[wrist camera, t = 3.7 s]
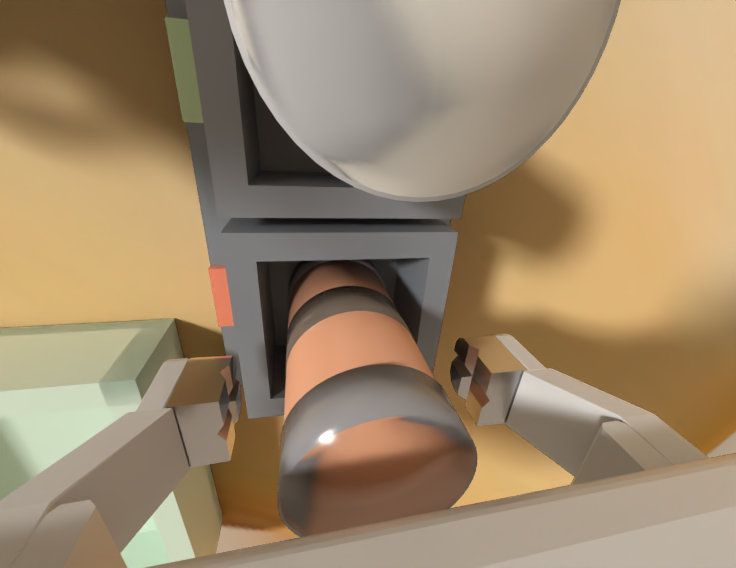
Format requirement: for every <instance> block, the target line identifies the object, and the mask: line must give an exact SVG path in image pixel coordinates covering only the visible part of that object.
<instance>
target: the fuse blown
mask: <svg viewBox="0 0 736 568" xmlns="http://www.w3.org/2000/svg"><path fill="white" fill-rule="evenodd" d="M288 314H289V316H288V333H287V346H286V367H285V375H286V385H285V408H284V425H283V427H282V432H281V440H280V460H279V479H278V510H279V515H280V517H281V519H282V521H283V522H284V524H285V525H286V526H287V527H288V528H289V529H290V530H291V531H292V532H293V533H294V534H296V535H298V536H299V537H305V536H310V535H315V534H320V533H325V532H331V531H336V530H341V529H346V528H351V527H356V526H362V525H367V524H372V523H377V522H382V521H387V520H393V519H398V518H403V517H408V516H413V515H418V514H423V513H429V512H434V511H439V510H444V509H449V508H451V507H452V506H453V505H454V504H455V503H456V502H457V501H458V500H459V499H460V497H461V496H462V495H463V494H464V492H465V491H466V490H467V488H468V487H469V485H470V483H471V481H472V479H473V477H474V474H475V471H476V467H477V452H476V447H475V445H474V443H473V440H472V439H471V437H470V435H469V433H468V431H467V430H466V428H465V426H464V424H463V423H462V421H461V419H460V417H459V415H458V414H457V412H456V410H455V408H454V407H453V405H452V403H451V401H450V399H449V398H448V396H447V394H446V392H445V391H444V389H443V388H442V386H441V385H440V384H439V383H438V382H437V381H436V379H435V377H434V375H433V374H432V372H431V370H430V368H429V366H428V365H427V363H426V361H425V359H424V357H423V356H422V354H421V352H420V350H419V348H418V346H417V345H416V343H415V340H414V338H413V336H412V334H411V332H410V331H409V329H408V327H407V325H406V323H405V322H404V320H403V318H402V316H401V314H400V313H399V311H398V309H397V308H396V306H395V305H394V303H393V301H392V299H391V298H390V296H389V294H388V292H387V290H386V287H385V285H384V282H383V280H382V279H381V277H380V275H379V273H378V271H377V270H376V268H375V266H374V265H373V263H372V262H371V261H370V260H369V259H358V260H312V261H301V262H300V263H299V264H298V265H297V266H296V268H295V269H294V271H293V273H292V275H291V278H290V281H289V287H288Z"/></svg>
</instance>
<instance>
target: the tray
mask: <svg viewBox="0 0 736 568" xmlns="http://www.w3.org/2000/svg"><path fill="white" fill-rule="evenodd" d="M182 358H184V356H183V352H182V348H181V344H180V340H179V336H178V332H177V328H176V324H175V320H174V319H157V320H138V321H120V322H101V323H82V324H64V325H45V326H27V327H8V328H0V500H2V499H3V498H5V497H6V496H8V495H9V494H11V493H12V492H13V491H15V490H16V489H18V488H19V487H21V486H22V485H24V484H25V483H26V482H28V481H29V480H31V479H32V478H34V477H35V476H37V475H38V474H39V473H41V472H42V471H44V470H45V469H47V468H48V467H50V466H51V465H52V464H54V463H55V462H57V461H58V460H60V459H61V458H63V457H64V456H65V455H67V454H68V453H70V452H71V451H73V450H74V449H76V448H77V447H78V446H80V445H81V444H83V443H84V442H86V441H87V440H89V439H90V438H91V437H93V436H94V435H96V434H97V433H99V432H100V431H102V430H103V429H104V428H106V427H107V426H109V425H110V424H112V423H113V422H115V421H116V420H117V419H119V418H120V417H122V416H123V415H125V414H126V413H128V412H135V411H136V410H137V408H138V406H139V404H140V403H141V401H142V399H143V397H144V396H145V394H146V392H147V390H148V389H149V387H150V385H151V383H152V382H153V380H154V378H155V376H156V375H157V373H158V371H159V369H160V368H161V366H162V364H163V363H164V362H165V361H167V360H168V359H182ZM222 520H223V516H222V512H221V508H220V504H219V500H218V496H217V492H216V488H215V484H214V479H213V475H212V471H211V467H210V464H209V465H203V466H197V467H191V468H190V471H189V472H188V473H187V474H186V475H185V477H184V478H183V479H182V480H181V481H180V483H179V484H178V485H177V486H176V487H175V489H174V490H173V491H172V492H171V493H170V494H169V496H168V497H167V498H166V499H165V500H164V502H163V503H162V504H161V505H160V506H159V508H158V509H157V510H156V511H155V512H154V514H153V515H152V516H151V517H150V518H149V520H148V521H147V522H146V523H145V524H144V526H143V527H142V528H141V529H140V530H139V532H138V533H137V534H136V535H135V536H134V538H133V539H132V540H131V541H130V542H129V544H128V545H127V546H126V547H125V548H124V550H123V551H122V552H121V553H120V554H121V556H122V558H123V560H124V562H125V564H126V566H127V568H144V567H150V566H155V565H160V564H165V563H170V562H175V561H181V560H186V559H191V558H196V557H201V556H206V555H212V554H216V551H217V545H218V541H219V535H220V530H221V525H222Z"/></svg>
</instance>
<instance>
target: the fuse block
mask: <svg viewBox="0 0 736 568" xmlns="http://www.w3.org/2000/svg"><path fill="white" fill-rule="evenodd" d="M165 3H166V9H167V15H168V17H164V18H165V24H166V30H167V35H168V41H169V47H170V53H171V58H172V64H173V70H174V75H175V81H176V87H177V92H178V98H179V104H180V109H181V115H182V121H183V122H186V126H187V132H188V137H189V143H190V149H191V155H192V161H193V166H194V172H195V178H196V184H197V190H198V196H199V201H200V207H201V213H202V219H203V225H204V230H205V236H206V242H207V248H208V254H209V260H210V265H211V266H210V267H209V275H210V280H211V286H212V292H213V297H214V303H215V309H216V314H217V320H218V326H219V327H221V329H222V335H223V341H224V347H225V353H226V356H231V355H234V357H235V358H236V363H237V373H236V377H235V379H236V380H238V381H239V382H240V386H243V388H244V395H245V401H246V408H247V415H248V419H253V418H262V417H270V416H279V415H284V408H285V385H286V375H285V367H286V346H287V333H288V316H289V314H288V287H289V281H290V278H291V275H292V273H293V271H294V269H295V268H296V266H297V265H298V264H299V263H300V262H301V261H312V260H358V259H369V260H370V261H371V262H372V263H373V265H374V266H375V268H376V270H377V271H378V273H379V275H380V277H381V279H382V280H383V282H384V285H385V287H386V290H387V292H388V294H389V296H390V298H391V299H392V301H393V303H394V305H395V306H396V308H397V309H398V311H399V313H400V314H401V316H402V318H403V320H404V322H405V323H406V325H407V327H408V329H409V331H410V332H411V334H412V336H413V338H414V340H415V343H416V345H417V346H418V348H419V350H420V352H421V354H422V356H423V357H424V359H425V361H426V363H427V365H428V366H429V368H430V370H431V372H432V374H433V370H434V365H435V359H436V354H437V348H438V343H439V337H440V332H441V326H442V321H443V316H444V310H445V305H446V299H447V294H448V288H449V283H450V277H451V272H452V266H453V261H454V255H455V250H456V244H457V239H458V233H459V232H458V231H456V230H455V229H453V228H452V227H450V222H451V219H461V217H462V211H463V206H464V201H465V195H466V194H465V195H462V196H459V197H455V198H450V199H445V200H440V201H428V202H410V201H399V200H393V199H389V198H384V197H380V196H376V195H373V194H371V193H368V192H365V191H363V190H360V189H358V188H355V187H353V186H351V185H350V184H348V183H346V182H344V181H342V180H340V179H339V178H337V177H335V176H334V175H332V174H331V173H330V172H328V171H327V170H325V169H324V168H323V167H321V166H320V165H319V164H317V163H316V162H315V161H314V160H313V159H312V158H310V157H309V156H308V155H307V154H306V153H305V152H304V151H303V150H302V149H301V148H300V147H299V146H298V145H297V144H296V143H295V142H294V141H293V140H292V138H291V137H290V136H289V135H288V134H287V132H286V131H285V130H284V129H283V128H282V126H281V125H280V124H279V123H278V122H277V120H276V119H275V117H274V115H273V114H272V112H271V111H270V109H269V108H268V106H267V105H266V103H265V102H264V100H263V99H262V97H261V96H260V94H259V92H258V90H257V88H256V86H255V84H254V82H253V80H252V78H251V76H250V74H249V72H248V70H247V68H246V66H245V64H244V61H243V59H242V56H241V53H240V51H239V48H238V46H237V43H236V40H235V38H234V35H233V33H232V30H231V26H230V22H229V19H228V15H227V11H226V7H225V4H224V0H165Z"/></svg>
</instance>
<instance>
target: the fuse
mask: <svg viewBox="0 0 736 568" xmlns="http://www.w3.org/2000/svg"><path fill="white" fill-rule="evenodd" d="M620 1H621V0H224V4H225V7H226V11H227V15H228V19H229V22H230V26H231V30H232V33H233V35H234V38H235V40H236V43H237V46H238V48H239V51H240V53H241V56H242V59H243V61H244V64H245V66H246V68H247V70H248V72H249V74H250V76H251V78H252V80H253V82H254V84H255V86H256V88H257V90H258V92H259V94H260V96H261V97H262V99H263V100H264V102H265V103H266V105H267V106H268V108H269V109H270V111H271V112H272V114H273V115H274V117H275V119H276V120H277V122H278V123H279V124H280V125H281V126H282V128H283V129H284V130H285V131H286V132H287V134H288V135H289V136H290V137H291V138H292V140H293V141H294V142H295V143H296V144H297V145H298V146H299V147H300V148H301V149H302V150H303V151H304V152H305V153H306V154H307V155H308V156H309V157H310V158H312V159H313V160H314V161H315V162H316V163H317V164H319V165H320V166H321V167H323V168H324V169H325V170H327V171H328V172H330V173H331V174H332V175H334V176H335V177H337V178H339V179H340V180H342V181H344V182H346V183H348V184H350V185H351V186H353V187H355V188H358V189H360V190H363V191H365V192H368V193H371V194H373V195H376V196H380V197H384V198H389V199H393V200H399V201H410V202H428V201H440V200H445V199H450V198H455V197H459V196H462V195H465V194H468V193H471V192H474V191H477V190H479V189H481V188H483V187H485V186H487V185H490V184H492V183H494V182H496V181H497V180H499V179H501V178H502V177H504V176H505V175H507V174H508V173H510V172H512V171H513V170H515V169H516V168H517V167H518V166H520V165H521V164H522V163H523V162H525V161H526V160H527V159H528V158H530V157H531V156H532V155H533V154H534V153H535V152H536V151H537V150H538V149H539V148H540V147H541V146H542V145H543V144H544V143H545V142H546V141H547V140H548V139H549V138H550V137H551V136H552V134H553V133H554V132H555V131H556V130H557V128H558V127H559V126H560V125H561V124H562V122H563V121H564V120H565V119H566V117H567V116H568V114H569V113H570V111H571V110H572V108H573V107H574V105H575V104H576V103H577V101H578V100H579V98H580V97H581V95H582V93H583V91H584V89H585V88H586V86H587V84H588V82H589V80H590V79H591V77H592V75H593V73H594V71H595V69H596V67H597V65H598V62H599V60H600V58H601V56H602V53H603V51H604V49H605V47H606V44H607V41H608V39H609V36H610V33H611V30H612V27H613V25H614V22H615V19H616V16H617V12H618V9H619V5H620Z"/></svg>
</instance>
